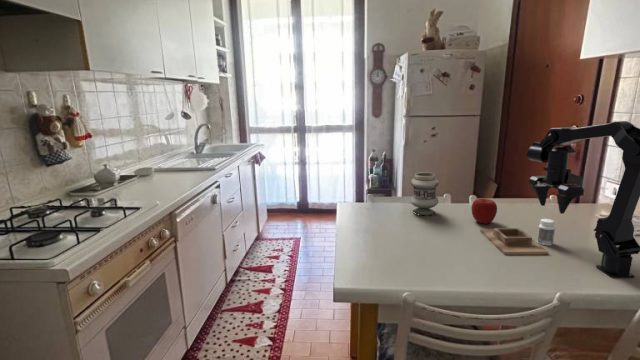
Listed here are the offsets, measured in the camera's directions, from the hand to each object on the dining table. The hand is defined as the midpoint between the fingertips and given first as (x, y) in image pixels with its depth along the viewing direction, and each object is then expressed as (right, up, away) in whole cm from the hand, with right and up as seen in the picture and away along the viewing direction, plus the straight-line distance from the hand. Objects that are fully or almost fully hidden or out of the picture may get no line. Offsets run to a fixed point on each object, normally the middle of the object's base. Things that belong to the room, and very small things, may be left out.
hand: (552, 209), depth 121 cm
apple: (-13, -7, +23) cm, 28 cm away
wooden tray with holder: (-12, -12, +3) cm, 17 cm away
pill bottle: (-1, -12, +2) cm, 12 cm away
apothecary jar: (-34, -5, +37) cm, 50 cm away
